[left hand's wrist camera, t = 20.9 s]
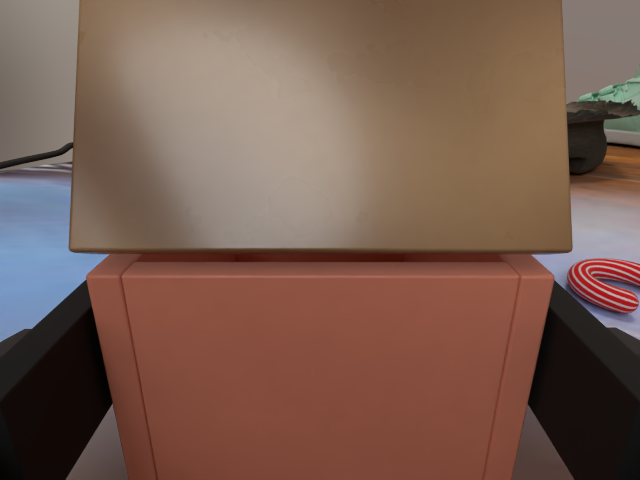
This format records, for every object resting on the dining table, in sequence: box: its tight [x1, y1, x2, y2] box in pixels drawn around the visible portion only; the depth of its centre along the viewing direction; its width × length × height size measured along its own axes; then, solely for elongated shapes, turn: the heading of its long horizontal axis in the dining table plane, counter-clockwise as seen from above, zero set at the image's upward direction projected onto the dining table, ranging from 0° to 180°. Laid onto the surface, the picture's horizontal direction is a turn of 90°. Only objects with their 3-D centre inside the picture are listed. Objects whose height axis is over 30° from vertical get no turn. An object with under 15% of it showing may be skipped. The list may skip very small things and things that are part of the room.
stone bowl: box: [566, 99, 640, 174], centre depth 63 cm, size 25×25×9 cm
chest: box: [86, 254, 554, 480], centre depth 17 cm, size 13×10×9 cm
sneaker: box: [566, 66, 640, 147], centre depth 79 cm, size 14×35×20 cm, turn 42°
